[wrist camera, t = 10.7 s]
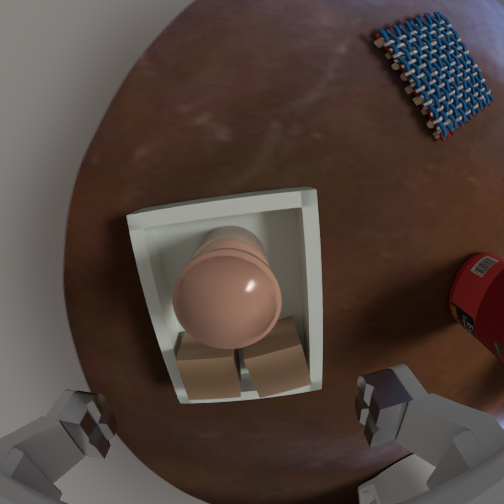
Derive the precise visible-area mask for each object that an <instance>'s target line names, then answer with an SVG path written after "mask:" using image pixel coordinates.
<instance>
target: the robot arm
mask: <svg viewBox="0 0 504 504" xmlns="http://www.w3.org/2000/svg"><path fill="white" fill-rule="evenodd" d="M357 386H358V388H359V393H358V394H357V395H356V399H355V408H356V414H357V417H358V420H359V422H360V423H362V424H363V425H365V429H364V434H365V437H366V439H367V442H368V444H369V446H370V447H374V446H378V445H381V444H385V443H388V442H391V441H395V440H396V441H395V442H397V443H398V444H400V445H401V446H403V447H404V448H406V449H407V450H409V451H411V452H412V453H414V454H413V455H410V456H408V457H406V458H404V459H403V460H401V461H399V462H397V463H395V464H394V465H392V466H390V467H389V468H387V469H386V470H384V471H383V472H382V473H380V474H379V475H378V476H376V477H375V478H373V479H371V480H369V481H367V482H365V483H364V484H362V485H360V486H359V487H358V497H359V504H504V430H503V429H502V427H501V426H500V425H499V424H498V422H497V421H496V420H495V419H494V417H493V416H492V415H491V414H488V413H485V412H482V411H479V410H476V409H473V408H470V407H468V406H465V405H462V404H459V403H457V402H454V401H451V400H449V399H446V398H443V397H441V396H438V395H436V394H433V393H431V394H428V393H427V392H426V391H425V389H424V388H423V387H422V385H421V384H420V383H419V381H418V380H417V379H416V377H415V376H414V375H413V373H412V372H411V371H410V370H409V368H408V367H407V366H406V365H405V364H401V365H398V366H395V367H391V368H389V369H385V370H381V371H377V372H373V373H369V374H365V375H361V376H359V378H358V383H357ZM106 406H107V401H106V399H105V397H104V395H102V394H98V393H91V392H83V391H75V390H70V389H67V390H64V391H63V392H62V394H61V395H60V396H59V398H58V399H57V401H56V402H55V404H54V405H53V406H52V408H51V409H50V411H49V412H48V414H47V415H46V416H45V417H43V416H42V417H40V418H38V419H36V420H35V421H33V422H31V423H29V424H27V425H25V426H23V427H21V428H20V429H18V430H16V431H14V432H12V433H10V434H8V435H6V436H4V437H2V438H0V504H67V503H65V502H62V501H60V498H61V495H62V493H61V491H60V490H59V489H58V488H57V487H56V486H55V485H54V484H53V483H54V482H55V481H57V480H58V479H59V478H60V477H61V476H62V475H64V474H65V473H66V472H67V471H69V470H70V469H71V468H72V467H73V466H74V465H76V464H77V463H78V462H79V461H80V460H81V459H83V458H84V457H85V455H86V456H91V457H96V458H101V459H105V457H106V455H107V452H108V450H109V448H110V443H109V439H111V438H112V437H114V436H115V433H116V430H117V421H116V417H115V415H114V413H113V411H111V410H110V409H109V408H108V407H106Z"/></svg>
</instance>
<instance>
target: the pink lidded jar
mask: <svg viewBox="0 0 504 504" xmlns="http://www.w3.org/2000/svg"><path fill="white" fill-rule="evenodd" d="M172 303H173V309H174V312H175V315H176V317H177V320H178V322H179V323H180V325H181V326H182V327H183V329H184V330H185V331H186V332H187V333H188V334H189V335H190V336H192V337H193V338H194V339H196V340H197V341H199V342H201V343H203V344H205V345H208V346H211V347H215V348H220V349H236V348H242V347H246V346H249V345H251V344H254V343H255V342H257V341H259V340H260V339H262V338H263V337H265V336H266V335H267V334H268V333H269V332H270V331H271V329H272V328H273V327H274V325H275V324H276V322H277V320H278V318H279V315H280V311H281V305H282V297H281V291H280V288H279V285H278V282H277V279H276V277H275V275H274V273H273V272H272V270H271V269H270V268H269V264H268V261H267V257H266V254H265V250H264V247H263V245H262V243H261V242H260V240H259V239H258V238H257V236H256V235H254V234H253V233H252V232H250V231H249V230H247V229H245V228H242V227H239V226H223V227H219V228H216V229H214V230H212V231H211V232H209V233H208V234H207V235H206V236H205V237H204V238H203V239H202V241H201V242H200V244H199V246H198V248H197V250H196V252H195V254H194V256H193V258H192V259H191V260H190V261H189V262H188V263H187V264H186V265H185V267H184V268H183V269H182V271H181V272H180V274H179V276H178V278H177V280H176V282H175V285H174V289H173V295H172Z"/></svg>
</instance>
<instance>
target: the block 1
mask: <svg viewBox="0 0 504 504" xmlns="http://www.w3.org/2000/svg"><path fill="white" fill-rule="evenodd" d="M175 361H176V364H177V367H178V370H179V373H180V376H181V379H182V382H183V385H184V388H185V390H186V393H187V396H188V399H189V400H206V399H223V398H236V397H241V365H240V359H239V354H238V348H236V349H220V348H215V347H211V346H208V345H205V344H203V343H201V342H199V341H197V340H196V339H194V338H193V337H192V336H190V335H189V334H188V333H187V332H186V331H184V334H183V337H182V341H181V344H180V347H179V350H178V354H177V357H176V360H175Z"/></svg>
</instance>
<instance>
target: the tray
mask: <svg viewBox="0 0 504 504" xmlns="http://www.w3.org/2000/svg"><path fill="white" fill-rule="evenodd" d="M126 217H127V222H128V227H129V232H130V237H131V242H132V247H133V251H134V256H135V260H136V264H137V268H138V273H139V277H140V281H141V284H142V288H143V292H144V296H145V299H146V303H147V307H148V310H149V314H150V317H151V320H152V324H153V327H154V330H155V333H156V337H157V340H158V343H159V346H160V349H161V352H162V355H163V358H164V361H165V364H166V367H167V369H168V372H169V375H170V378H171V380H172V383H173V386H174V388H175V391H176V394H177V396H178V399H179V401H180V403H210V402H226V401H239V400H250V399H259V398H260V397H259V395H258V393H257V390H256V388H255V386H254V383H253V381H252V379H251V376H250V374H249V372H248V369H247V367H246V365H245V362H244V359H243V347H242V348H238V354H239V359H240V365H241V397H236V398H223V399H206V400H189V399H188V396H187V393H186V390H185V388H184V385H183V382H182V379H181V376H180V373H179V370H178V367H177V364H176V361H175V360H176V357H177V354H178V350H179V347H180V344H181V341H182V337H183V334H184V331H185V330H184V329H183V327H182V326H181V325H180V323H179V322H178V320H177V317H176V315H175V312H174V309H173V303H172V295H173V289H174V285H175V282H176V280H177V278H178V276H179V274H180V272H181V271H182V269H183V268H184V267H185V265H186V264H187V263H188V262H189V261H190V260H191V259H192V258H193V256H194V254H195V252H196V250H197V248H198V246H199V244H200V242H201V241H202V239H203V238H204V237H205V236H206V235H207V234H208V233H209V232H211V231H212V230H214V229H216V228H219V227H223V226H239V227H242V228H245V229H247V230H249V231H250V232H252V233H253V234H254V235H256V236H257V238H258V239H259V240H260V242H261V243H262V245H263V247H264V250H265V254H266V257H267V261H268V264H269V268H270V269H271V270H272V272H273V273H274V275H275V277H276V279H277V282H278V285H279V288H280V291H281V297H282V305H281V311H280V315H279V318H278V320H279V319H282V318H285V317H289V316H292V318H293V321H294V324H295V327H296V330H297V333H298V336H299V339H300V342H301V345H302V349H303V352H304V356H305V360H306V364H307V368H308V371H309V375H310V379H311V383H312V384H311V385H307V386H304V387H300V388H297V389H293V390H290V391H286V392H282V393H278V394H274V395H270V396H266V397H262V398H268V397H276V396H283V395H290V394H296V393H302V392H308V391H314V390H319V389H322V358H323V308H322V271H321V249H320V231H319V216H318V203H317V191H316V189H313V188H310V187H306V186H304V187H293V188H283V189H274V190H265V191H256V192H248V193H240V194H232V195H225V196H217V197H210V198H203V199H197V200H190V201H184V202H177V203H171V204H165V205H159V206H154V207H148V208H142V209H139V210H137V211H135V212H133V213H131V214H128V215H126Z"/></svg>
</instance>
